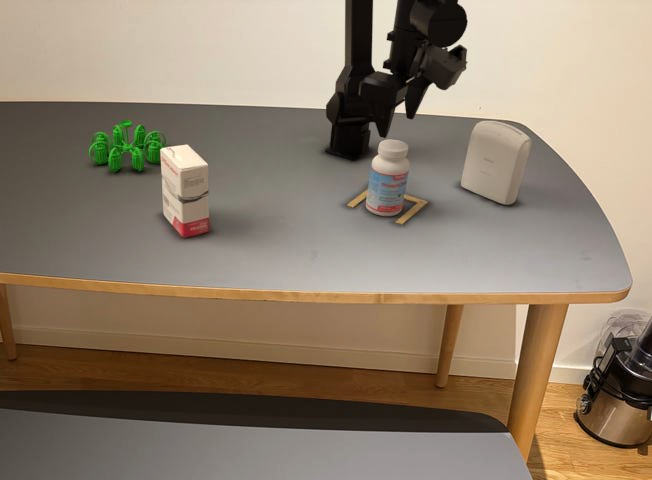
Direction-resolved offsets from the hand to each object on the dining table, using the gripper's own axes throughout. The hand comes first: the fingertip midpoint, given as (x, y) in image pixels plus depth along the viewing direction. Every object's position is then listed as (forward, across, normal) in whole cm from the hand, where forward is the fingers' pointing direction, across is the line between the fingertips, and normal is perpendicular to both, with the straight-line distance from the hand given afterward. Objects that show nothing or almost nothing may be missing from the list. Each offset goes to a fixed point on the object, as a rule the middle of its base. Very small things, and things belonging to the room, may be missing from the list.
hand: (396, 127), depth 119 cm
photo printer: (+13, +13, -13) cm, 22 cm away
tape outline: (+13, -2, -1) cm, 13 cm away
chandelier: (+13, -16, +46) cm, 50 cm away
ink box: (+13, -28, +22) cm, 37 cm away
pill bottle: (+13, -3, -2) cm, 13 cm away
